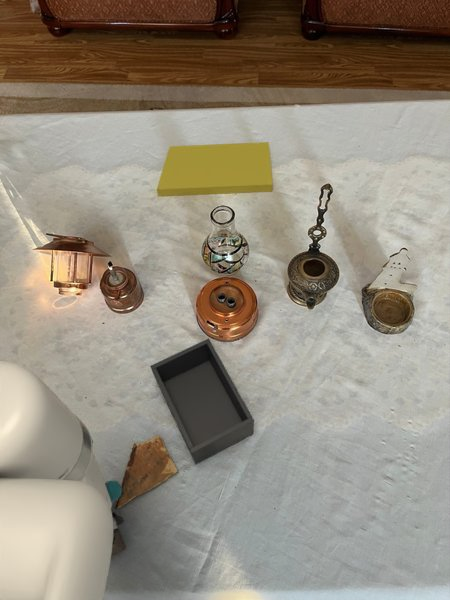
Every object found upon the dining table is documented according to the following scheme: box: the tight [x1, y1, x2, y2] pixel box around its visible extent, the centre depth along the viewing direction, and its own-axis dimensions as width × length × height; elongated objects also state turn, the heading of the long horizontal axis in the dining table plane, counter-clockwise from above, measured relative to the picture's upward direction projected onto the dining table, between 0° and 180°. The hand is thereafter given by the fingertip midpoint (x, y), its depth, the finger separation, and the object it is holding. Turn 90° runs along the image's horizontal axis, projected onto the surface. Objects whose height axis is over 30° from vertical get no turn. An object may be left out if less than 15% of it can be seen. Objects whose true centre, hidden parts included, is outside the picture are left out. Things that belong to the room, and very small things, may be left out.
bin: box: [149, 337, 255, 465], centre depth 84 cm, size 15×10×8 cm
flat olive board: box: [156, 141, 274, 197], centre depth 112 cm, size 12×2×24 cm
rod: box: [104, 480, 122, 504], centre depth 63 cm, size 12×2×2 cm, turn 117°
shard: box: [114, 435, 179, 510], centre depth 82 cm, size 11×8×2 cm
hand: (94, 485), depth 60 cm, fingers open, 9 cm apart
